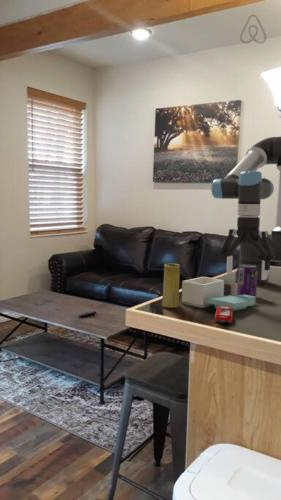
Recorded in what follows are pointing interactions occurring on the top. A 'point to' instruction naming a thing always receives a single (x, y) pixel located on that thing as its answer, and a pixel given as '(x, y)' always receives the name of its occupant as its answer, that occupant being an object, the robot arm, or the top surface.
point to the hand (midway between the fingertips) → (246, 276)
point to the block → (233, 301)
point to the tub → (201, 291)
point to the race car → (224, 314)
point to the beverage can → (247, 280)
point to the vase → (171, 286)
